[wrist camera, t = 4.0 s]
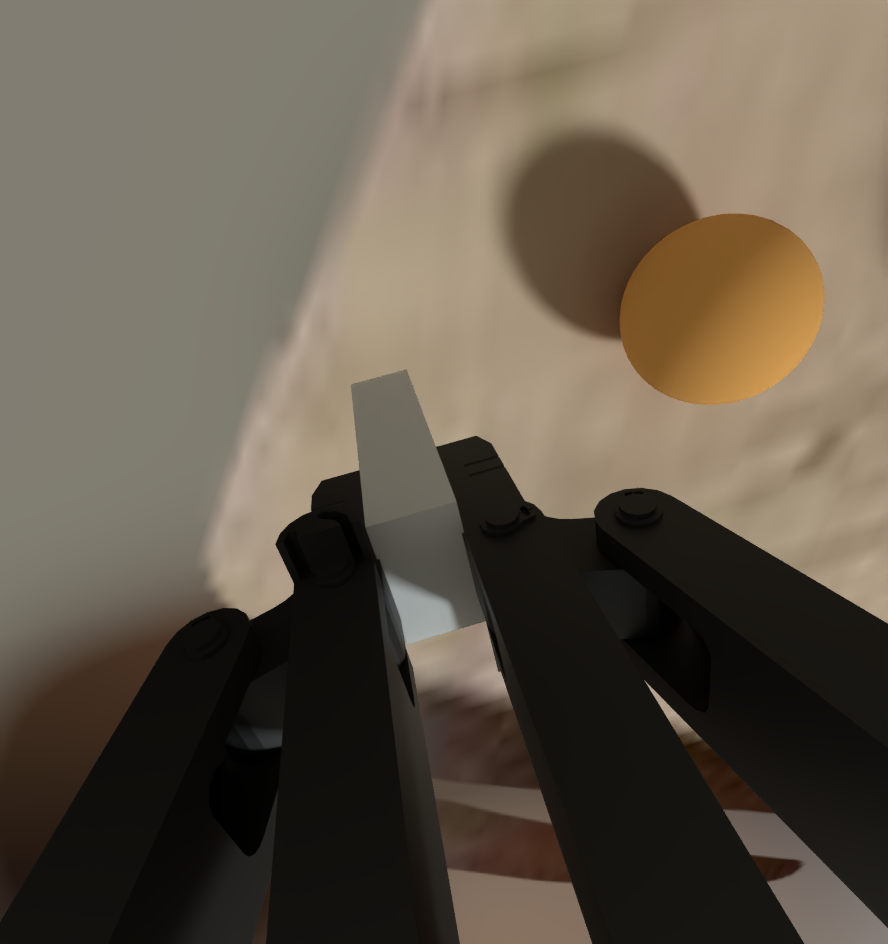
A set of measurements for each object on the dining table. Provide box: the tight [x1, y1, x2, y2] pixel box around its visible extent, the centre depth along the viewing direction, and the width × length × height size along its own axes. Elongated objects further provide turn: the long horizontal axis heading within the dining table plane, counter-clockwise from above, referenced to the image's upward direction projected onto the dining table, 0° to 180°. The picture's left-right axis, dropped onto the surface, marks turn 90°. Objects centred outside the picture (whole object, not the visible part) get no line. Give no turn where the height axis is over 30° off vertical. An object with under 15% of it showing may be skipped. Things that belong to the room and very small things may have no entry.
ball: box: [620, 214, 825, 405], centre depth 17 cm, size 6×6×6 cm
